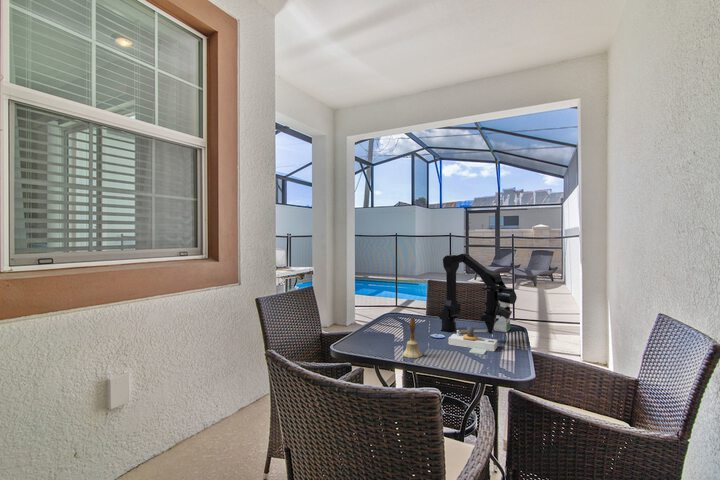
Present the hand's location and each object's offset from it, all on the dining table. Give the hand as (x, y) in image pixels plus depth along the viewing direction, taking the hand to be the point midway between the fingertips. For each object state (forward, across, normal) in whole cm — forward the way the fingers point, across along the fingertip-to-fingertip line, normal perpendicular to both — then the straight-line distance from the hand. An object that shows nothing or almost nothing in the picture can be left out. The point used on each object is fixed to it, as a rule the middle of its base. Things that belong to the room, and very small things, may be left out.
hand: (490, 333), depth 164 cm
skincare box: (+3, +26, 0) cm, 26 cm away
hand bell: (+7, -34, +24) cm, 42 cm away
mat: (+5, -16, +2) cm, 17 cm away
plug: (+5, -9, +7) cm, 12 cm away
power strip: (+5, -9, +7) cm, 12 cm away
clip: (0, -2, +7) cm, 7 cm away
